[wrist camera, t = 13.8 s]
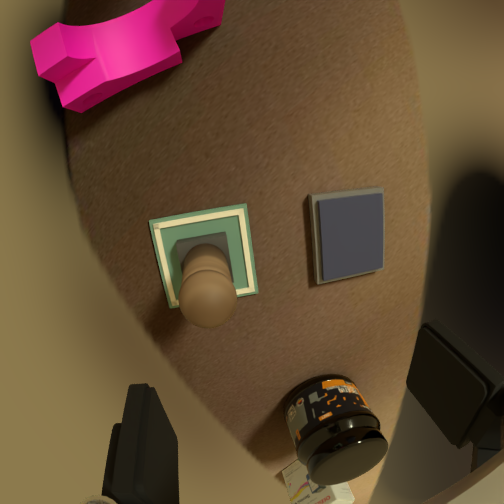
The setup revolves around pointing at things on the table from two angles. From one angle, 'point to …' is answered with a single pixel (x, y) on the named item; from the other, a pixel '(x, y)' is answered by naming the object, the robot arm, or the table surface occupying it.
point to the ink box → (313, 488)
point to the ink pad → (347, 233)
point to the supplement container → (333, 430)
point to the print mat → (202, 224)
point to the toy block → (119, 49)
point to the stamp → (206, 280)
